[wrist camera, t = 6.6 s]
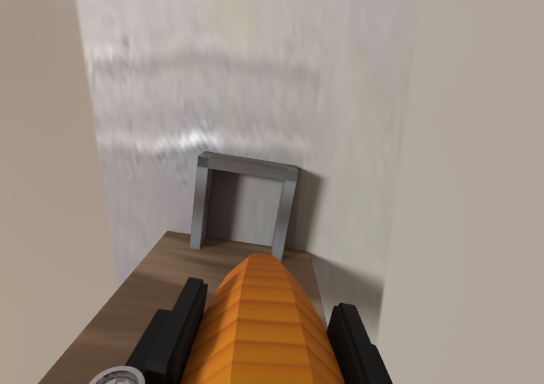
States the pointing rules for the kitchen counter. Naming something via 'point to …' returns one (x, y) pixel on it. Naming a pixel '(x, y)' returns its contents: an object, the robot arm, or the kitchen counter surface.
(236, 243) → the wall holder
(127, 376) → the robot arm
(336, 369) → the carrot
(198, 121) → the kitchen counter surface
